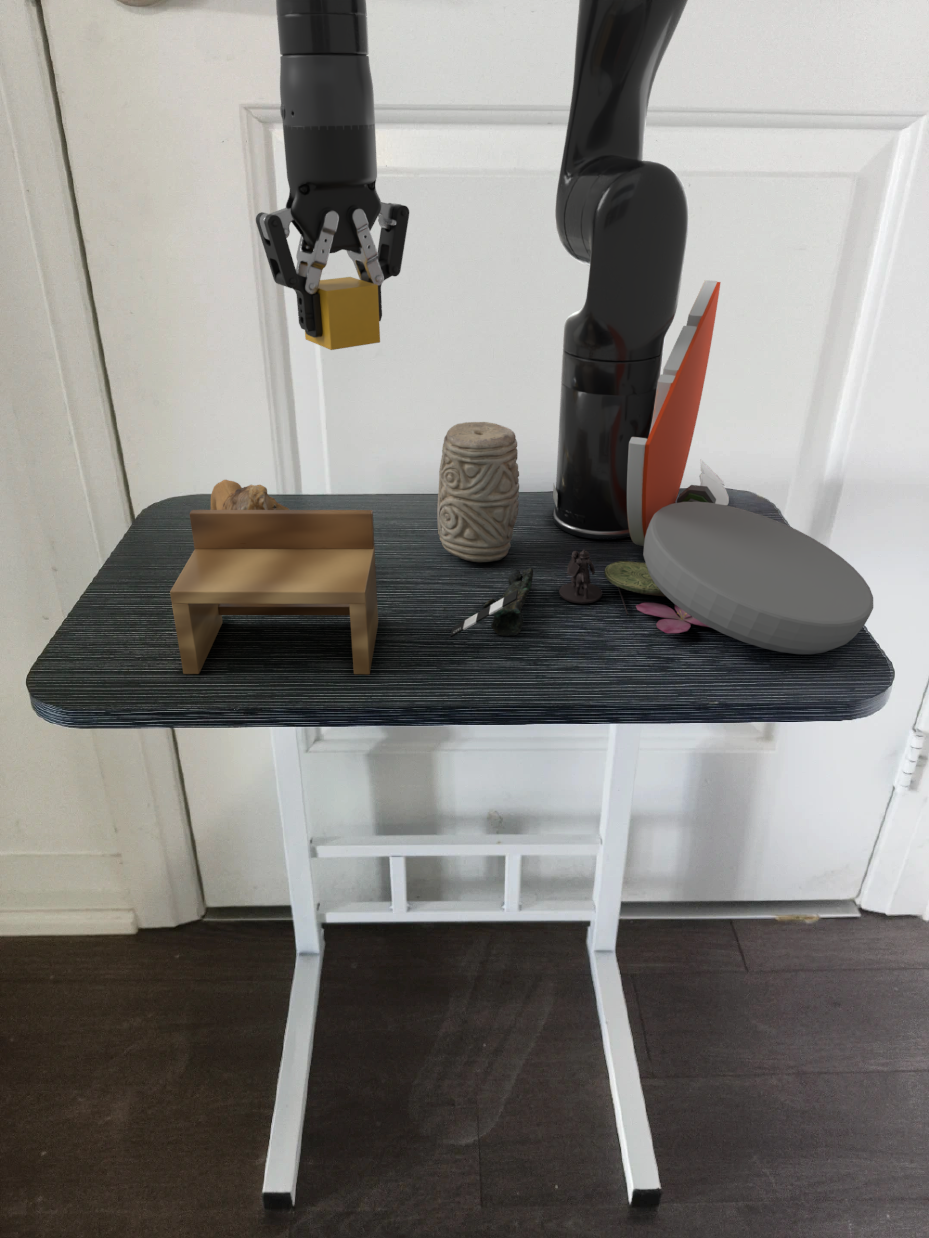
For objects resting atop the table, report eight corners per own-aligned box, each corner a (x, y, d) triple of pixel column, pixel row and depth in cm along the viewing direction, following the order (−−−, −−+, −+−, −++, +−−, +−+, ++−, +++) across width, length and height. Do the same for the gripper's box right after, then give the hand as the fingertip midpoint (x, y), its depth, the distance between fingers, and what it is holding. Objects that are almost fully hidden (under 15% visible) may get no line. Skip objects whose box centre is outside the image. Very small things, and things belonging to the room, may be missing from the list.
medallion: (634, 598, 79) (635, 590, 79) (587, 566, 86) (588, 558, 85) (713, 597, 82) (715, 589, 82) (662, 566, 89) (664, 558, 88)
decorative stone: (629, 484, 83) (610, 534, 86) (684, 598, 68) (659, 655, 70) (821, 524, 87) (798, 571, 89) (916, 642, 71) (884, 694, 74)
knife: (725, 495, 108) (686, 472, 108) (746, 464, 106) (706, 441, 106) (698, 576, 89) (651, 549, 90) (723, 541, 87) (674, 513, 87)
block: (353, 332, 91) (350, 276, 88) (380, 342, 87) (377, 284, 85) (305, 339, 88) (300, 282, 86) (331, 350, 85) (327, 291, 82)
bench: (183, 674, 72) (163, 553, 68) (208, 622, 79) (191, 509, 75) (369, 674, 72) (363, 553, 68) (378, 622, 79) (372, 509, 75)
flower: (651, 596, 84) (652, 586, 84) (742, 615, 81) (744, 605, 80) (618, 629, 78) (618, 619, 78) (715, 651, 74) (717, 640, 74)
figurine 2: (614, 572, 87) (618, 531, 85) (629, 615, 80) (633, 571, 78) (554, 572, 87) (556, 531, 85) (563, 615, 80) (566, 571, 78)
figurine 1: (450, 636, 75) (470, 560, 85) (481, 672, 76) (498, 592, 86) (515, 598, 72) (528, 524, 82) (546, 636, 74) (556, 558, 84)
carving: (525, 564, 89) (529, 438, 83) (445, 571, 87) (443, 444, 81) (508, 536, 94) (511, 416, 88) (432, 543, 93) (430, 421, 87)
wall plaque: (705, 277, 94) (628, 442, 74) (721, 279, 94) (648, 445, 74) (684, 439, 107) (615, 616, 87) (699, 441, 107) (632, 620, 87)
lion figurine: (301, 582, 86) (292, 487, 81) (244, 597, 83) (232, 500, 79) (237, 527, 96) (227, 440, 92) (186, 539, 94) (172, 450, 90)
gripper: (267, 123, 73) (288, 351, 81) (427, 119, 80) (431, 329, 88) (227, 120, 78) (251, 334, 86) (381, 117, 85) (389, 315, 93)
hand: (342, 330), depth 87 cm, fingers closed on block, 5 cm apart
